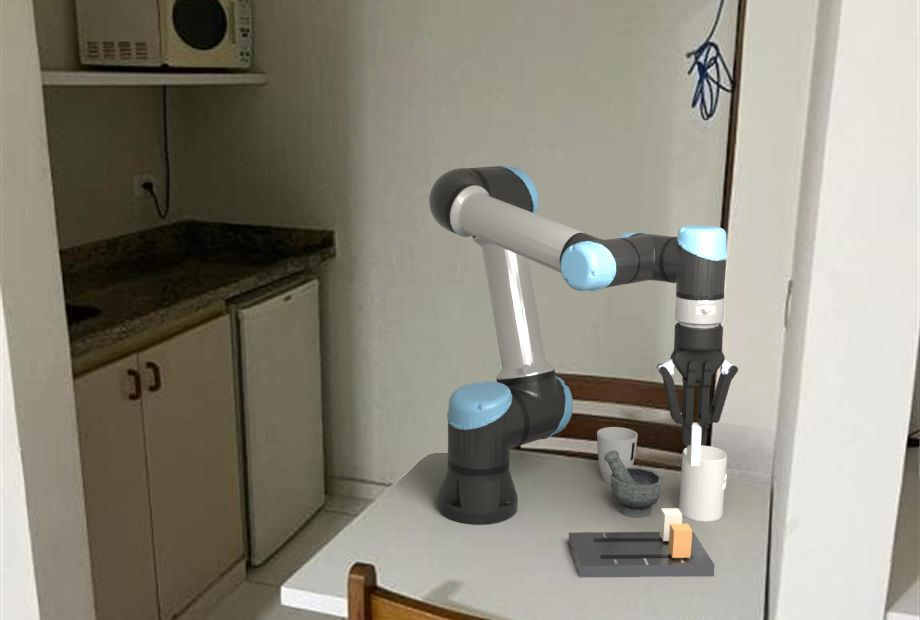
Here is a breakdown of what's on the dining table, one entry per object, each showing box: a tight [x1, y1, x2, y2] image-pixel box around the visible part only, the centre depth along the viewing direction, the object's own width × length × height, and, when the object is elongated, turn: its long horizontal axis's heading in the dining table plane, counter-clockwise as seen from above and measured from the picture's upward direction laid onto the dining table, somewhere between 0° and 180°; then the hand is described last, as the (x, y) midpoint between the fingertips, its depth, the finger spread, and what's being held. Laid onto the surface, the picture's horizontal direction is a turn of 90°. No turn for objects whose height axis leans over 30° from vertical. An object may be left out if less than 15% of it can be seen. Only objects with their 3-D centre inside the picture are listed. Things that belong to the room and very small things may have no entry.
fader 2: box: [668, 523, 693, 558], centre depth 152 cm, size 3×3×5 cm
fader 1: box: [659, 507, 683, 541], centre depth 158 cm, size 3×3×5 cm
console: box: [568, 531, 715, 578], centre depth 156 cm, size 22×12×2 cm, turn 92°
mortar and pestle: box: [604, 450, 664, 519], centre depth 173 cm, size 11×9×12 cm
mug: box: [678, 445, 728, 523], centre depth 175 cm, size 8×12×12 cm
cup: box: [596, 426, 639, 485], centre depth 188 cm, size 8×8×10 cm
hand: (693, 462), depth 152 cm, fingers closed
